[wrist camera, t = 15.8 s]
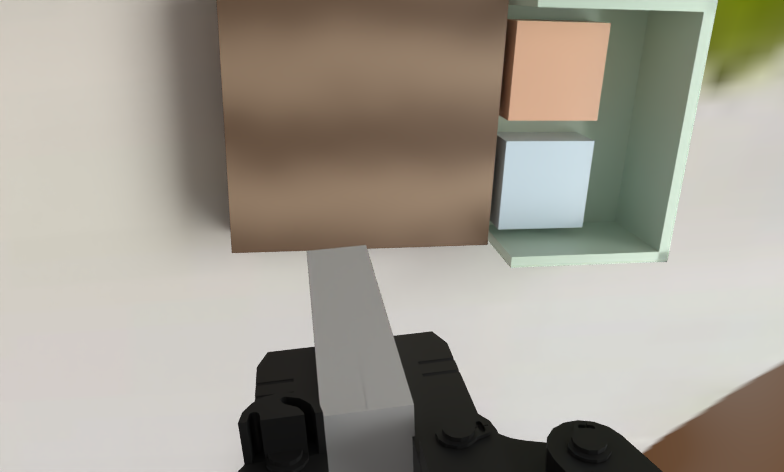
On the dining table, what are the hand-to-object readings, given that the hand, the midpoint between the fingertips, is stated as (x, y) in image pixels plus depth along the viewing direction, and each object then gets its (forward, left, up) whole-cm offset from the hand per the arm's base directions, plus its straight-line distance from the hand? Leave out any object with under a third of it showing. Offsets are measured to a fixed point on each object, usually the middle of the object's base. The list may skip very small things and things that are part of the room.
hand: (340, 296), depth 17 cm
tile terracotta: (-4, +13, -20) cm, 24 cm away
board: (-1, +3, -21) cm, 21 cm away
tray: (-1, +15, -21) cm, 25 cm away
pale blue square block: (+2, +13, -20) cm, 24 cm away
